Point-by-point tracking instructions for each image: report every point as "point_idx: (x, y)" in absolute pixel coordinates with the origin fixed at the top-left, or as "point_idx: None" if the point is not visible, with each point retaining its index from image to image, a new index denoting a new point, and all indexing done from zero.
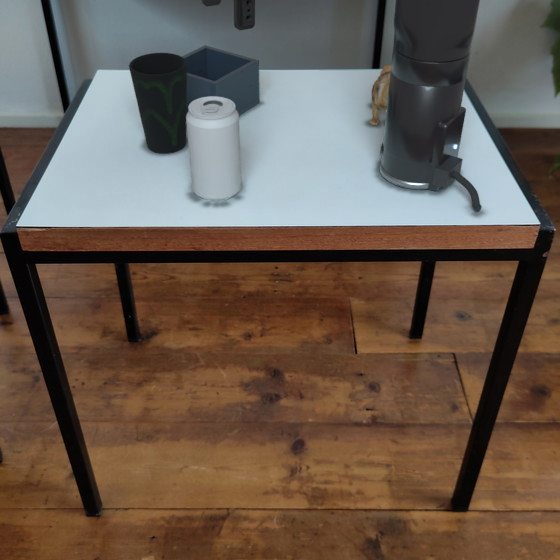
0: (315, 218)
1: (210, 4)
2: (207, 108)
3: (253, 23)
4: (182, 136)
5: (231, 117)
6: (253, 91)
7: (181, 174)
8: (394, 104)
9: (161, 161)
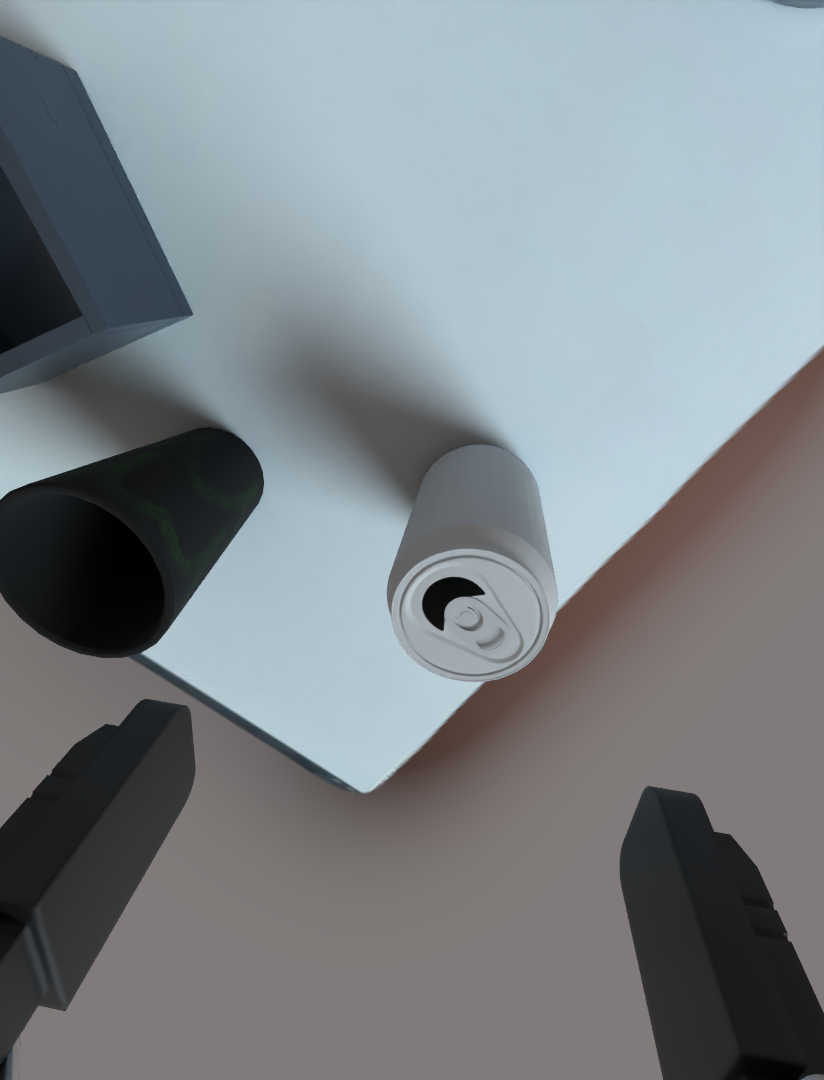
0: (752, 374)
1: (188, 758)
2: (473, 636)
3: (735, 845)
4: (243, 465)
5: (545, 588)
6: (57, 96)
7: (365, 520)
8: None
9: (288, 524)
